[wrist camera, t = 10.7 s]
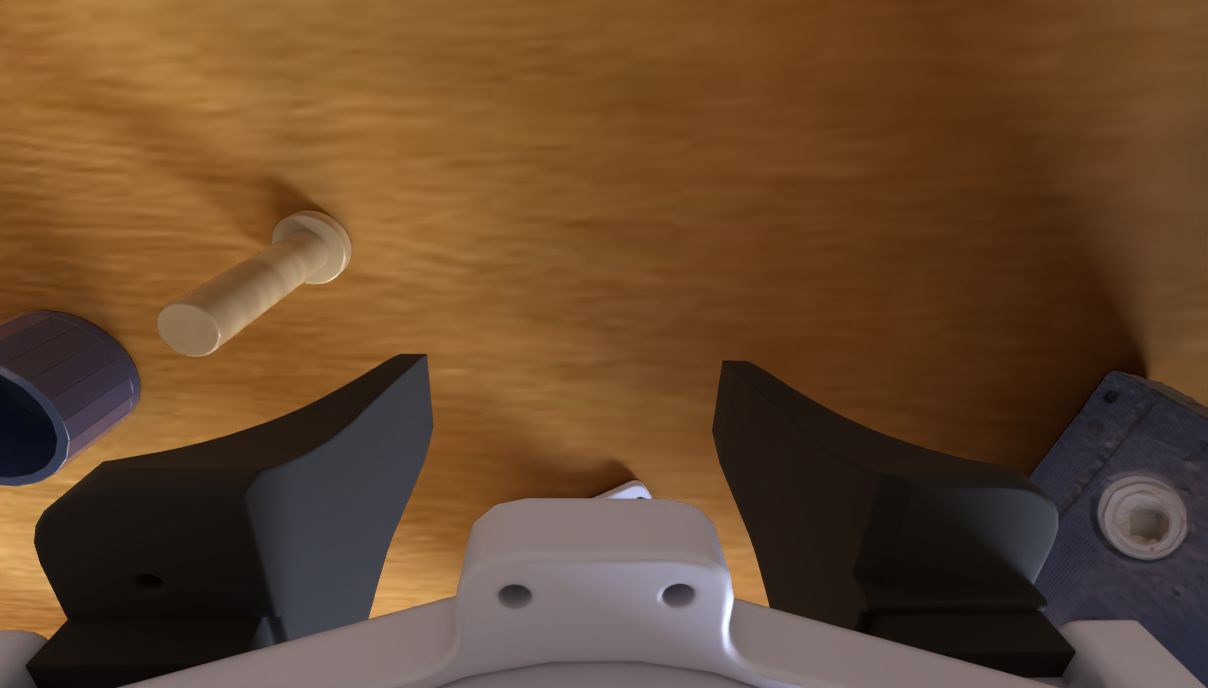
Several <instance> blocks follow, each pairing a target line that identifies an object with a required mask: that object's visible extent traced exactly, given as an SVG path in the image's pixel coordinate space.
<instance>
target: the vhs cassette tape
mask: <svg viewBox="0 0 1208 688" xmlns="http://www.w3.org/2000/svg"><path fill="white" fill-rule="evenodd" d="M1029 479H1030V480H1031V481H1032V482H1033V483H1034V484H1035V485H1036V486H1037V487H1038V488H1040V489H1041V490H1042V491H1043V492H1044V493H1045V494H1046V495H1047V496H1048V497H1049V498H1050V499H1051V500H1052V501H1053V503H1054V505H1055V507H1056V510H1057V512H1058V531H1057V534H1056V537H1055V540H1054V543H1053V546H1052V548H1051V550H1050V552H1049V554H1048V556H1047V558H1046V560H1045V562H1044V564H1043V566H1042V568H1041V570H1040V572H1039V574H1038V576H1037V578H1036V580H1035V582H1034V584H1033V585H1034V586H1035V587H1036V588H1037V589H1038V590H1039V592H1040V593H1041V594H1042V595H1043V596H1044V597H1045V598H1046V599H1047V603H1048V606H1047V608H1046V610H1045V611H1041V612H1042V613H1043V614H1044V615H1045V616H1046V618H1047V619H1048V620H1049V621H1050V622H1051V623H1052V624H1053V626H1054V627H1055V628H1056V629H1058V628H1059V627H1060V626H1062V625H1064V624H1066V623H1067V622H1071V621H1077V620H1135V621H1138V622H1139V623H1140V624H1141V625H1142V626H1143V627H1144V628H1145V629H1146V630H1147V631H1148V632H1149V633H1150V634H1151V635H1152V636H1153V637H1154V638H1155V639H1156V640H1157V641H1158V642H1159V643H1160V644H1161V645H1162V646H1164V647H1165V648H1166V649H1167V650H1168V651H1169V652H1170V653H1171V654H1172V655H1173V656H1174V657H1175V658H1176V659H1177V660H1178V661H1179V662H1180V663H1181V664H1182V665H1183V666H1184V667H1185V668H1186V669H1187V670H1188V671H1189V672H1190V673H1191V674H1192V675H1194V676H1195V677H1196V678H1197V679H1198V680H1199V681H1200V682H1201V683H1202V684H1203V685H1204V686H1205V687H1206V688H1208V407H1206V406H1204V405H1202V404H1200V403H1198V402H1196V401H1195V400H1194V399H1193V398H1191V397H1188V396H1185V395H1184V394H1182V393H1181V392H1179V391H1177V390H1176V389H1174V388H1172V387H1170V386H1166V385H1164V384H1163V383H1162V382H1157V381H1151V380H1147V379H1145V378H1143V377H1140V376H1136V375H1130V374H1127V373H1124V372H1121V371H1112V372H1110V373H1108V374H1107V375H1106V377H1105V378H1104V379H1103V381H1102V382H1101V383H1100V385H1099V386H1098V387H1097V389H1096V390H1095V391H1094V393H1093V394H1092V395H1091V397H1090V398H1089V400H1088V401H1087V403H1086V404H1085V406H1084V408H1083V409H1082V410H1081V411H1080V412H1079V414H1078V415H1077V416H1076V417H1075V419H1074V420H1073V421H1072V422H1071V423H1070V425H1069V426H1068V427H1067V429H1066V430H1065V431H1064V433H1063V434H1062V435H1061V436H1060V438H1059V439H1058V440H1057V442H1056V443H1055V444H1054V446H1053V447H1052V448H1051V450H1050V451H1049V452H1048V454H1047V455H1046V456H1045V457H1044V459H1043V460H1042V461H1041V463H1040V464H1039V465H1038V466H1037V468H1036V469H1035V470H1034V472H1033V473H1032V474H1031V476H1030V477H1029Z"/></svg>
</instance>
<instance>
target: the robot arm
mask: <svg viewBox="0 0 1208 688" xmlns="http://www.w3.org/2000/svg"><path fill="white" fill-rule="evenodd" d="M432 430H433V417H432V406H431V395H430V384H429V373H428V362H427V354H399V355H397V356H395V357H393V358H391V359H389V360H387V361H386V362H384V363H382V364H381V365H379V366H377V367H376V368H374V369H372V370H371V371H369V372H367V373H366V374H364V375H362V376H361V377H359V378H357V379H355V380H354V381H352V382H350V383H349V384H347V385H345V386H343V387H341V388H340V389H338V390H336V391H334V392H332V393H330V394H328V395H327V396H325V397H323V398H321V399H319V400H317V401H315V402H313V403H311V404H309V405H307V406H305V407H303V408H301V409H298V410H296V411H294V412H291V413H289V414H287V415H284V416H282V417H279V418H277V419H274V420H272V421H269V422H266V423H263V424H260V425H257V426H254V427H251V428H248V429H245V430H242V431H240V432H237V433H234V434H231V435H227V436H224V437H220V438H217V439H213V440H209V441H206V442H202V443H198V444H193V445H189V446H185V447H181V448H177V449H172V450H167V451H162V452H157V453H151V454H146V455H140V456H134V457H129V458H123V459H118V460H111V461H104V462H102V463H101V464H100V465H99V466H97V467H96V468H95V469H94V470H93V471H91V472H90V473H89V474H88V475H87V476H85V477H84V478H83V479H82V480H81V481H79V482H78V483H77V484H76V485H75V486H73V487H72V488H71V489H70V490H69V491H67V492H66V493H65V494H64V495H63V496H61V497H60V498H59V499H58V500H57V501H55V502H54V503H53V504H52V505H51V506H50V507H48V508H47V509H46V510H45V511H44V512H43V514H42V516H41V517H40V519H39V521H38V522H37V524H36V527H35V537H34V544H35V548H36V551H37V554H38V557H39V561H40V564H41V566H42V568H43V570H44V572H45V574H46V576H47V578H48V580H49V582H50V584H51V586H52V588H53V590H54V592H55V594H56V596H57V599H58V601H59V603H60V605H61V607H62V609H63V611H64V613H65V615H66V617H67V619H68V620H67V621H66V622H65V623H64V624H63V625H62V626H61V628H60V629H59V630H58V631H57V632H56V633H55V634H54V635H53V636H52V637H51V638H50V639H49V641H48V640H47V639H46V638H45V637H43V636H41V635H39V634H37V633H35V632H29V631H22V630H13V631H0V688H1206V687H1205V686H1204V685H1203V684H1202V683H1201V682H1200V681H1199V680H1198V679H1197V678H1196V677H1195V676H1194V675H1192V674H1191V673H1190V672H1189V671H1188V670H1187V669H1186V668H1185V667H1184V666H1183V665H1182V664H1181V663H1180V662H1179V661H1178V660H1177V659H1176V658H1175V657H1174V656H1173V655H1172V654H1171V653H1170V652H1169V651H1168V650H1167V649H1166V648H1165V647H1164V646H1162V645H1161V644H1160V643H1159V642H1158V641H1157V640H1156V639H1155V638H1154V637H1153V636H1152V635H1151V634H1150V633H1149V632H1148V631H1147V630H1146V629H1145V628H1144V627H1143V626H1142V625H1141V624H1140V623H1139V622H1138V621H1135V620H1077V621H1071V622H1067V623H1066V624H1064V625H1062V626H1060V627H1059V628H1058V629H1056V628H1055V627H1054V626H1053V624H1052V623H1051V622H1050V621H1049V620H1048V619H1047V618H1046V616H1045V615H1044V614H1043V613H1042V612H1041V611H1045V610H1046V608H1047V606H1048V603H1047V599H1046V598H1045V597H1044V596H1043V595H1042V594H1041V593H1040V592H1039V590H1038V589H1037V588H1036V587H1035V586H1034V585H1033V584H1034V582H1035V580H1036V578H1037V576H1038V574H1039V572H1040V570H1041V568H1042V566H1043V564H1044V562H1045V560H1046V558H1047V556H1048V554H1049V552H1050V550H1051V548H1052V546H1053V543H1054V540H1055V537H1056V534H1057V531H1058V512H1057V510H1056V507H1055V505H1054V503H1053V501H1052V500H1051V499H1050V498H1049V497H1048V496H1047V495H1046V494H1045V493H1044V492H1043V491H1042V490H1041V489H1040V488H1038V487H1037V486H1036V485H1035V484H1034V483H1033V482H1032V481H1031V480H1030V479H1029V478H1028V477H1026V476H1025V475H1024V474H1023V473H1022V472H1021V471H1020V470H1018V469H1014V468H1009V467H1004V466H999V465H994V464H989V463H984V462H979V461H974V460H969V459H964V458H960V457H956V456H952V455H948V454H945V453H941V452H937V451H933V450H930V449H927V448H923V447H920V446H917V445H913V444H910V443H907V442H905V441H902V440H899V439H896V438H893V437H890V436H888V435H885V434H882V433H880V432H877V431H875V430H872V429H870V428H867V427H865V426H863V425H861V424H858V423H856V422H854V421H852V420H849V419H847V418H845V417H843V416H841V415H839V414H837V413H835V412H833V411H831V410H830V409H828V408H826V407H824V406H822V405H820V404H819V403H817V402H815V401H813V400H811V399H810V398H808V397H806V396H805V395H803V394H801V393H800V392H798V391H796V390H795V389H793V388H792V387H790V386H788V385H787V384H785V383H784V382H782V381H781V380H779V379H777V378H776V377H774V376H773V375H771V374H770V373H768V372H766V371H765V370H763V369H761V368H760V367H758V366H756V365H755V364H753V363H751V362H748V361H728V360H723V362H722V369H721V375H720V382H719V388H718V395H717V402H716V408H715V415H714V422H713V428H712V432H713V436H714V441H715V445H716V450H717V454H718V458H719V462H720V465H721V467H722V470H723V472H724V475H725V477H726V480H727V482H728V485H729V487H730V490H731V492H732V495H733V497H734V500H735V502H736V504H737V507H738V509H739V512H740V514H741V517H742V519H743V521H744V524H745V526H746V529H747V531H748V533H749V536H750V539H751V542H752V545H753V548H754V551H755V554H756V558H757V561H758V565H759V568H760V572H761V576H762V579H763V583H764V586H765V590H766V594H767V598H768V602H769V606H770V608H769V607H765V606H762V605H758V604H754V603H751V602H747V601H743V600H740V599H736V598H734V596H733V590H732V584H731V578H730V573H729V570H728V567H727V564H726V561H725V558H724V554H723V551H722V548H721V545H720V542H719V539H718V535H717V532H716V529H715V526H714V523H713V522H712V521H711V520H710V519H709V518H708V517H706V516H705V515H704V514H703V513H702V512H701V511H700V510H699V509H698V508H697V507H695V506H694V505H690V504H686V503H681V502H677V501H672V500H668V499H653V498H652V496H651V495H650V493H649V491H648V490H647V488H646V486H645V485H644V484H643V483H642V482H640V481H636V480H634V481H630V482H628V483H625V484H623V485H621V486H619V487H616V488H614V489H612V490H610V491H607V492H605V493H603V494H601V495H598V496H596V497H594V498H526V499H521V500H516V501H511V502H506V503H501V504H497V505H495V506H494V507H492V508H491V509H490V510H489V511H487V512H486V513H485V514H484V515H482V516H481V517H480V518H479V519H477V520H476V521H475V522H474V523H473V527H472V530H471V533H470V537H469V540H468V544H467V548H466V552H465V557H464V561H463V566H462V570H461V575H460V579H459V584H458V588H457V592H456V596H453V597H449V598H445V599H442V600H438V601H434V602H431V603H427V604H423V605H419V606H416V607H412V608H408V609H405V610H401V611H397V612H394V613H390V614H386V615H383V616H379V617H375V618H372V619H368V618H369V615H370V611H371V607H372V603H373V600H374V596H375V592H376V589H377V585H378V582H379V578H380V575H381V572H382V568H383V565H384V561H385V558H386V555H387V551H388V548H389V546H390V543H391V540H392V538H393V535H394V532H395V530H396V528H397V525H398V523H399V521H400V518H401V516H402V514H403V511H404V509H405V507H406V504H407V502H408V500H409V497H410V495H411V493H412V490H413V488H414V486H415V483H416V481H417V478H418V476H419V474H420V471H421V469H422V466H423V464H424V461H425V458H426V454H427V451H428V447H429V443H430V439H431V435H432ZM637 497H644V498H643V499H636V498H637Z"/></svg>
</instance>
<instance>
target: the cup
mask: <svg viewBox="0 0 1208 688" xmlns="http://www.w3.org/2000/svg"><path fill="white" fill-rule="evenodd" d="M139 396H140V380H139V376H138V373H137V370H136V368H135V366H134V364H133V362H132V360H131V358H130V357H129V356H128V354H127V353H126V352H125V350H124V349H123V348H122V347H121V346H120V345H119V344H118V343H117V342H116V341H115V340H114V339H113V338H112V337H111V336H109V335H108V334H107V333H105V332H104V331H103V330H101V329H100V328H98V327H96V326H95V325H93V324H91V323H89V322H87V321H85V320H83V319H80V318H78V317H75V316H72V315H69V314H65V313H61V312H56V311H46V310H38V311H28V312H23V313H20V314H17V315H14V316H12V317H9V318H6V319H3V320H1V321H0V485H5V486H21V485H27V484H33V483H38V482H41V481H43V480H45V479H46V478H48V477H50V476H52V475H54V474H56V473H57V472H58V471H60V470H61V469H62V468H64V467H65V466H66V465H67V464H69V463H70V462H71V461H73V460H74V459H75V458H77V457H78V456H79V455H80V454H82V453H83V452H84V451H86V450H87V449H88V448H89V447H91V446H92V445H93V444H95V443H96V442H97V441H99V440H100V439H101V438H102V437H104V436H105V435H106V434H108V433H109V432H110V431H111V430H113V429H114V428H115V427H117V426H118V425H119V424H120V423H121V422H122V421H123V420H125V419H126V418H127V417H128V416H129V415H130V414H131V413H132V412H133V410H134V409H135V407H136V405H137V403H138V400H139Z"/></svg>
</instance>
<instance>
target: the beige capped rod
mask: <svg viewBox="0 0 1208 688" xmlns="http://www.w3.org/2000/svg"><path fill="white" fill-rule="evenodd" d="M351 253H352V249H351V243H350V239H349V237H348V235H347V233H346V231H345V230H344V228H343V227H342V226H341V225H340V224H339V223H338V222H337V221H336V220H334V219H333V218H331V217H330V216H328V215H326V214H324V213H321V212H317V211H300V212H297V213H295V214H293V215H291V216H289V217H287V218H285V219H283V220H282V221H280V222H279V223H278V224H277V226H276V227H275V229H274V230H273V233H272V237H271V246H269V247H268V248H266V249H264V250H262V251H261V252H259V253H257V254H255V255H254V256H252V257H250V258H248V259H246V260H245V261H243V262H241V263H239V264H238V265H236V266H234V267H232V268H231V269H229V270H227V271H225V272H224V273H222V274H220V275H218V276H216V277H215V278H213V279H211V280H209V281H208V282H206V283H204V284H202V285H201V286H199V287H197V288H195V289H194V290H192V291H190V292H188V293H186V294H185V295H183V296H181V297H179V298H178V299H176V300H174V301H172V302H171V303H169V304H167V305H166V306H164V307H163V308H162V309H161V310H160V312H159V314H158V316H157V321H156V324H157V330H158V332H159V334H160V336H161V338H162V339H163V341H164V342H165V343H166V344H167V345H168V346H169V347H171V348H172V349H174V350H175V351H177V352H179V353H182V354H184V355H188V356H205V355H208V354H210V353H212V352H213V351H215V350H216V349H217V348H219V347H220V346H221V345H223V344H224V343H225V342H226V341H228V340H229V339H230V338H232V337H233V336H234V335H236V334H237V333H238V332H239V331H241V330H242V329H243V328H245V327H246V326H247V325H249V324H250V323H251V322H252V321H254V320H255V319H256V318H258V317H259V316H260V315H261V314H263V313H264V312H265V311H267V310H268V309H269V308H271V307H272V306H273V305H274V304H276V303H277V302H278V301H280V300H281V299H282V298H284V297H285V296H286V295H287V294H289V293H290V292H291V291H293V290H294V289H295V288H296V287H298V286H299V285H300V284H302V283H303V282H304V283H309V284H322V283H326V282H329V281H331V280H333V279H334V278H336V277H337V276H338V275H339V274H340V273H341V272H342V271H344V270H345V268H346V267H347V266H348V264H349V262H350V259H351Z"/></svg>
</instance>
